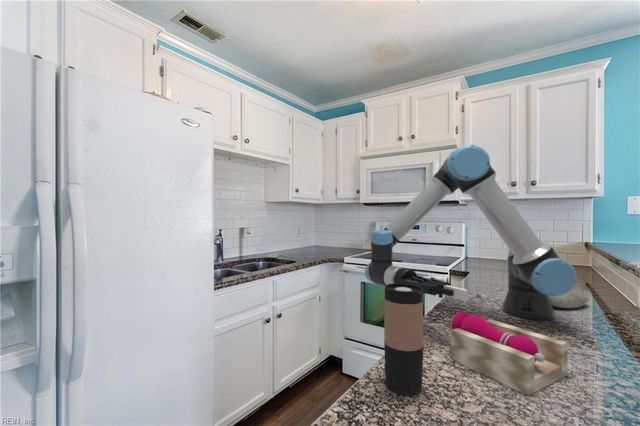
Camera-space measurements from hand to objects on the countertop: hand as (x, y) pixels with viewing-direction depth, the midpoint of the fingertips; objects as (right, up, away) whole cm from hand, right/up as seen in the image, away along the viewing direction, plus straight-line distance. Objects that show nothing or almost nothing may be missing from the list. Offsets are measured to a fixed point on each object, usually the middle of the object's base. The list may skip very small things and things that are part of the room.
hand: (466, 295), depth 78 cm
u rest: (+5, -14, -9) cm, 17 cm away
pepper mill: (-1, -8, +1) cm, 8 cm away
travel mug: (-21, -14, -17) cm, 30 cm away
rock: (+57, -15, +39) cm, 70 cm away
